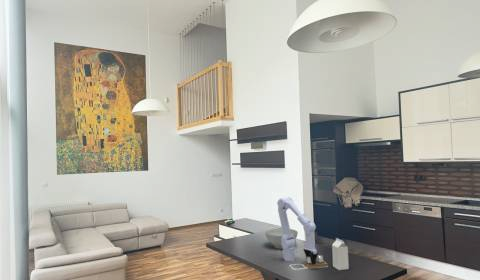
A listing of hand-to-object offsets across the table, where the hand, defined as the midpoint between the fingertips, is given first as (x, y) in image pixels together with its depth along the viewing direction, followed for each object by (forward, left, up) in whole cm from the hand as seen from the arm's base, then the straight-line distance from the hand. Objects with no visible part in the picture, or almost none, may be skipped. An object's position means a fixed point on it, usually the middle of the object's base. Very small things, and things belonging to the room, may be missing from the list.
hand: (311, 262), depth 203 cm
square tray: (-1, -9, -4) cm, 10 cm away
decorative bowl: (-53, -2, -4) cm, 54 cm away
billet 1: (0, 0, -3) cm, 3 cm away
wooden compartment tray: (0, +3, -4) cm, 5 cm away
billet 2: (0, +6, -3) cm, 7 cm away
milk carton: (+8, +17, -4) cm, 19 cm away
